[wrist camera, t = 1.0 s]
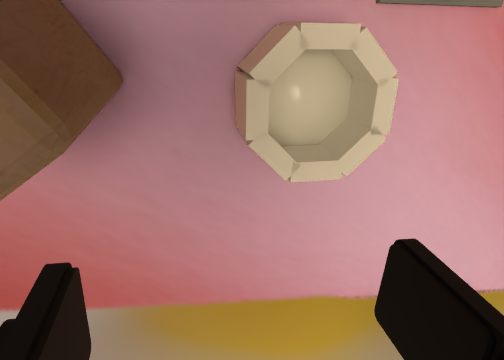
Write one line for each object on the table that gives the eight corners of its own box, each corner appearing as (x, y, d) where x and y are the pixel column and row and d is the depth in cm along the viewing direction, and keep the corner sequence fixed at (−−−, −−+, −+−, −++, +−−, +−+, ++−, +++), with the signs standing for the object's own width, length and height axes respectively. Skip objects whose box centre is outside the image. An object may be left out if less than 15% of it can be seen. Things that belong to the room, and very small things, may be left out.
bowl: (235, 21, 33) (247, 21, 27) (372, 25, 35) (408, 25, 30) (235, 163, 38) (245, 185, 33) (354, 156, 41) (381, 176, 36)
